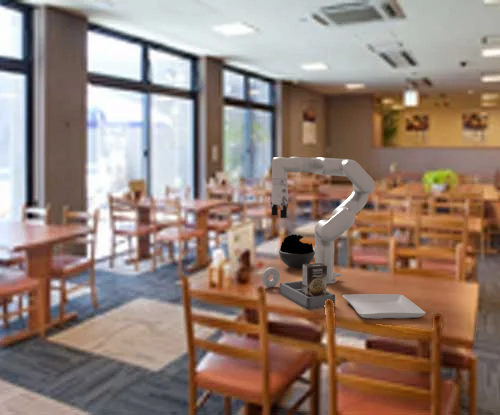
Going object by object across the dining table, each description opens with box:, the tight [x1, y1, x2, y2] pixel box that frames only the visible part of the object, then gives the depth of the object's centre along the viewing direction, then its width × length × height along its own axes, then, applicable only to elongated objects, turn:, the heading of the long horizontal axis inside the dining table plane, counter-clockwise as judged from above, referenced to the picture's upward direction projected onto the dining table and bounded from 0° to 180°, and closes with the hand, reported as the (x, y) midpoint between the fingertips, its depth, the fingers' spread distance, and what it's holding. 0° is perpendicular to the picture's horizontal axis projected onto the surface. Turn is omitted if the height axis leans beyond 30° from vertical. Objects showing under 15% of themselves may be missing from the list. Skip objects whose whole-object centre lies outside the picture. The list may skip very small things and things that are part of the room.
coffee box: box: [301, 262, 327, 297], centre depth 221 cm, size 9×6×16 cm
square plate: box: [342, 293, 427, 320], centre depth 214 cm, size 27×27×4 cm
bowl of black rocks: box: [278, 233, 315, 270], centre depth 286 cm, size 20×20×19 cm
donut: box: [261, 266, 280, 288], centre depth 247 cm, size 10×4×10 cm, turn 123°
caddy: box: [279, 280, 336, 310], centre depth 228 cm, size 26×13×5 cm, turn 24°
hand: (278, 216), depth 254 cm, fingers open, 9 cm apart
